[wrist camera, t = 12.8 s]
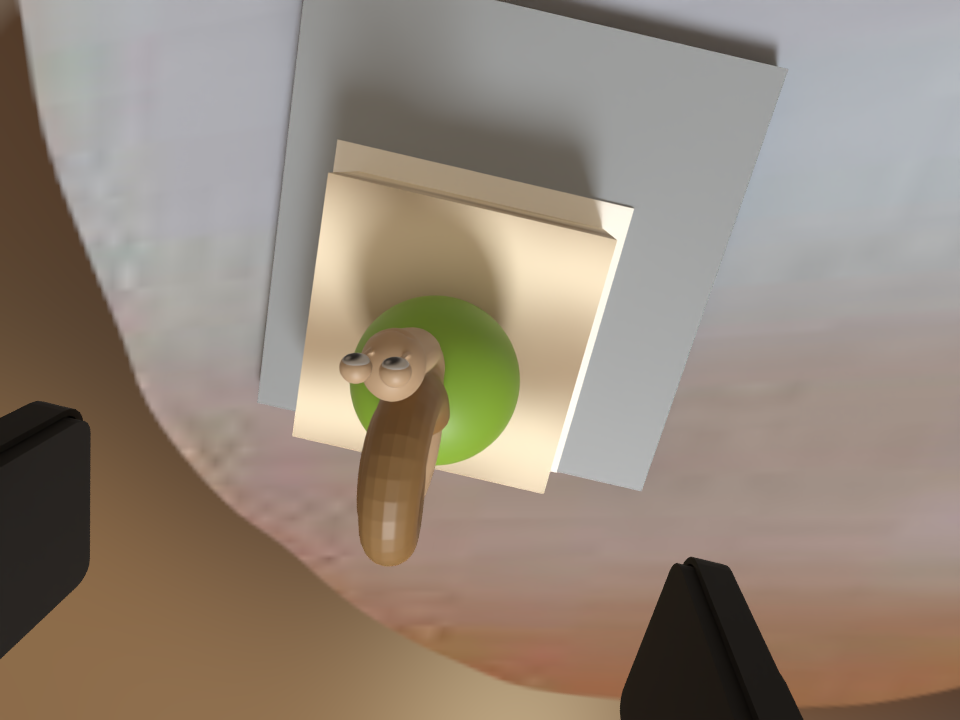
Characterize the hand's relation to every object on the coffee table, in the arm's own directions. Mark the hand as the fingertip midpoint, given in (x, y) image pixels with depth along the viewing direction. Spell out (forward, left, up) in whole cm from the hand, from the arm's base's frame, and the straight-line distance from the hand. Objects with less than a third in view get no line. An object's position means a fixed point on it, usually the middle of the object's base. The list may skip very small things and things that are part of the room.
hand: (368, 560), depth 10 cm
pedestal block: (0, 0, -17) cm, 17 cm away
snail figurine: (0, 0, -13) cm, 13 cm away
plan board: (-3, +1, -18) cm, 18 cm away
